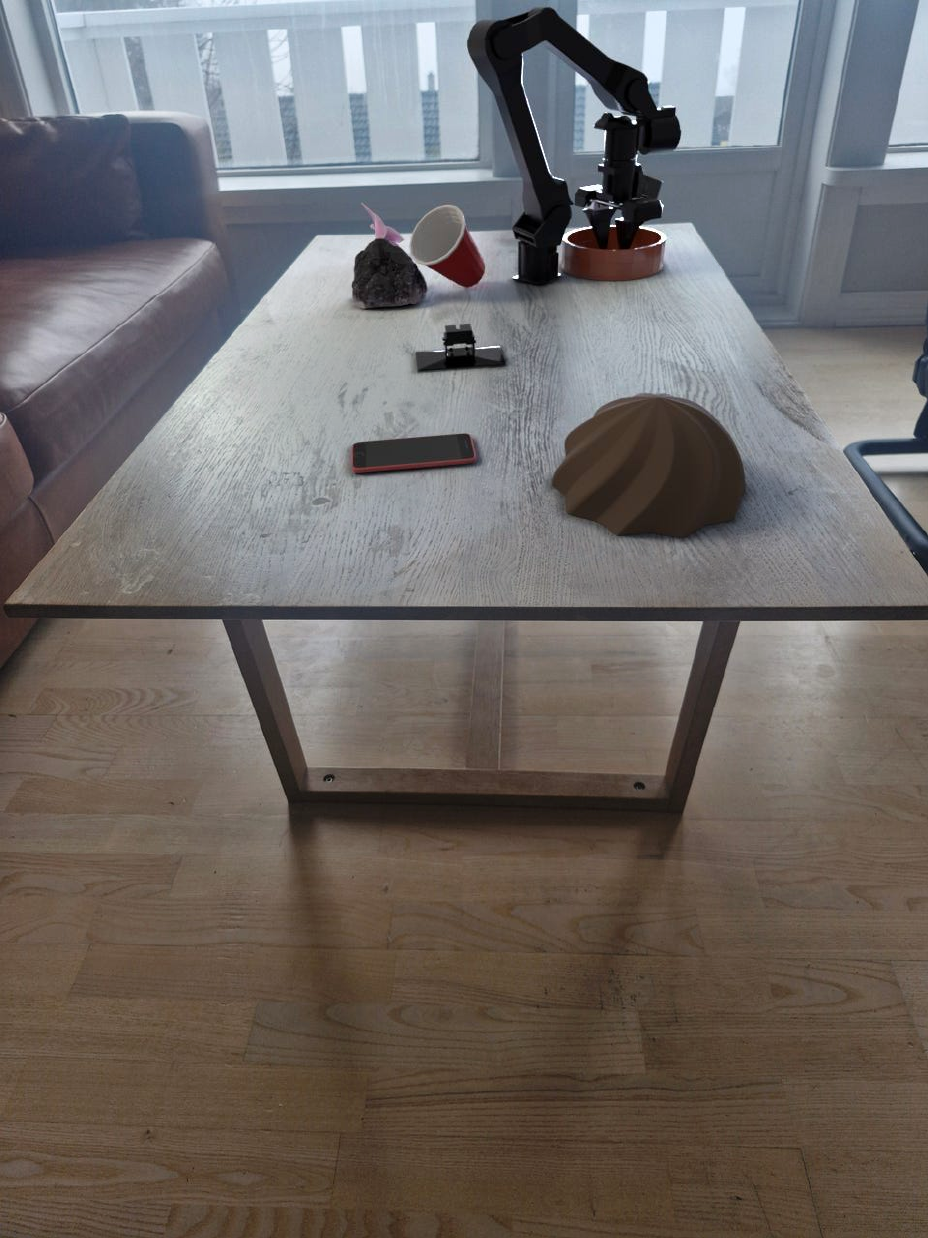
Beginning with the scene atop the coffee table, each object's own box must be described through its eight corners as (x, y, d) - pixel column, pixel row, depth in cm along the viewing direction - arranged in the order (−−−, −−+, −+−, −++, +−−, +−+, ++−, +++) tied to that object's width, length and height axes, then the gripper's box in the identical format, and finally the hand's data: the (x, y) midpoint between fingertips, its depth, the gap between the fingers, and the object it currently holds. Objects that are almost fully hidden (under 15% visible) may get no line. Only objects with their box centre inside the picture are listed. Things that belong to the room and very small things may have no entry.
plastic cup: (497, 232, 138) (462, 191, 128) (499, 288, 136) (464, 250, 126) (444, 254, 144) (407, 215, 134) (446, 308, 142) (408, 273, 132)
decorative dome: (756, 543, 74) (778, 445, 68) (543, 531, 77) (545, 435, 71) (737, 449, 89) (754, 361, 82) (559, 442, 92) (562, 356, 86)
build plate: (499, 349, 117) (499, 316, 114) (506, 367, 111) (506, 333, 108) (415, 354, 116) (413, 321, 113) (417, 372, 110) (415, 339, 107)
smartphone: (351, 441, 92) (470, 431, 93) (352, 446, 93) (470, 436, 94) (350, 469, 87) (477, 458, 88) (351, 474, 87) (477, 463, 88)
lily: (403, 273, 153) (419, 221, 150) (344, 250, 151) (360, 197, 148) (401, 277, 164) (416, 229, 162) (346, 255, 162) (360, 206, 159)
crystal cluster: (407, 318, 131) (409, 253, 125) (333, 305, 134) (332, 241, 128) (437, 300, 141) (440, 239, 135) (368, 289, 144) (367, 229, 139)
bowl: (542, 270, 147) (543, 241, 144) (596, 248, 158) (598, 221, 155) (629, 286, 137) (631, 255, 134) (680, 261, 148) (684, 232, 145)
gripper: (693, 158, 133) (681, 258, 143) (625, 146, 146) (618, 238, 156) (639, 167, 129) (631, 268, 139) (574, 153, 142) (571, 247, 152)
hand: (613, 254), depth 147 cm, fingers closed on popsicle, 6 cm apart
